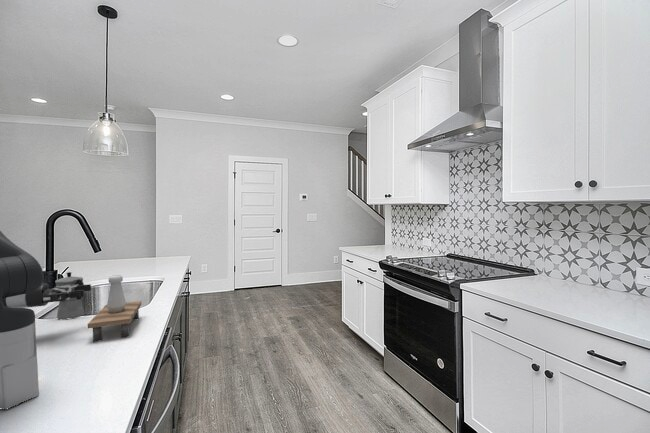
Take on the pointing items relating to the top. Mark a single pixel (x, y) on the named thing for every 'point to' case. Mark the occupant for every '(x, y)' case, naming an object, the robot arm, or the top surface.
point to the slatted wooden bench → (115, 319)
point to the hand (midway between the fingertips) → (87, 290)
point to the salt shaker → (116, 295)
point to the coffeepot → (72, 305)
